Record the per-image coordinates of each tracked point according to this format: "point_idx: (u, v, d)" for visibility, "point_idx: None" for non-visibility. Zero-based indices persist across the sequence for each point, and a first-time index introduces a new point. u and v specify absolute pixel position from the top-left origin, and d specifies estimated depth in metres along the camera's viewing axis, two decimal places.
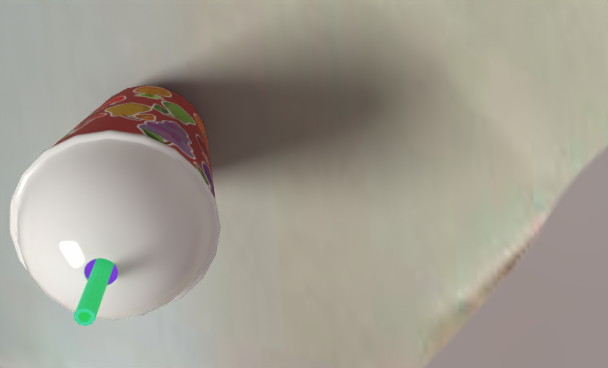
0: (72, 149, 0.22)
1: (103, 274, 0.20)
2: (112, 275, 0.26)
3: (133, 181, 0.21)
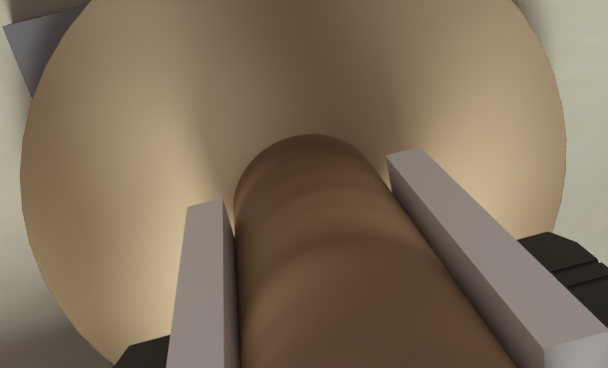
0: None
1: None
2: None
3: None
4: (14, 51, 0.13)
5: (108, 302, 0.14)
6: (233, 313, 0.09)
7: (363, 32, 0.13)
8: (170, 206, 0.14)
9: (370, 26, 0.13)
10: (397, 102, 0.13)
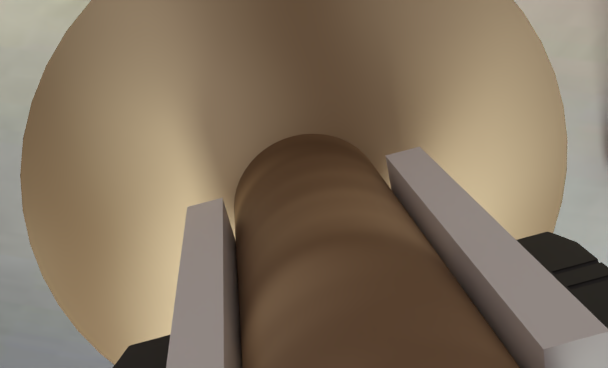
0: None
1: None
2: None
3: None
4: None
5: (109, 302, 0.14)
6: (233, 313, 0.09)
7: (363, 31, 0.13)
8: (171, 206, 0.14)
9: (371, 26, 0.13)
10: (398, 101, 0.13)
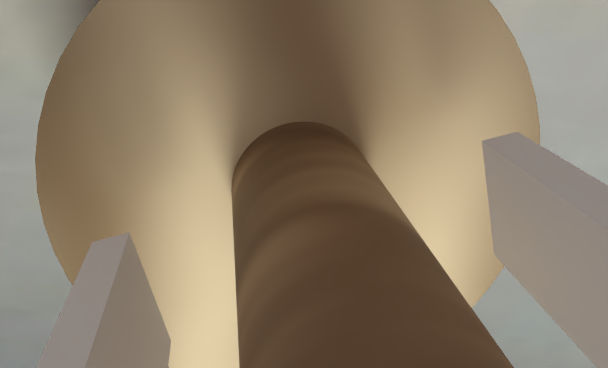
0: None
1: None
2: None
3: None
4: None
5: None
6: (110, 367, 0.09)
7: (350, 27, 0.14)
8: (173, 188, 0.15)
9: (356, 22, 0.14)
10: (383, 92, 0.14)
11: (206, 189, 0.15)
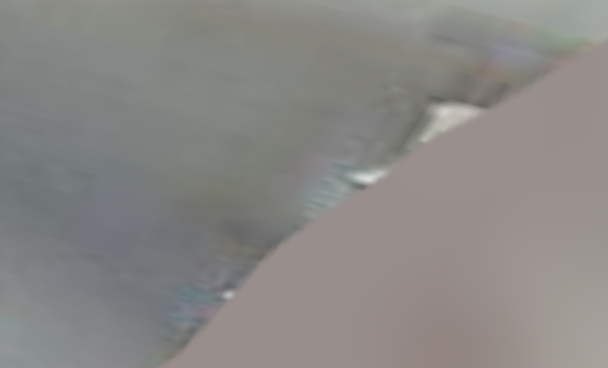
0: None
1: None
2: None
3: None
4: None
5: None
6: None
7: None
8: None
9: None
10: None
11: None
